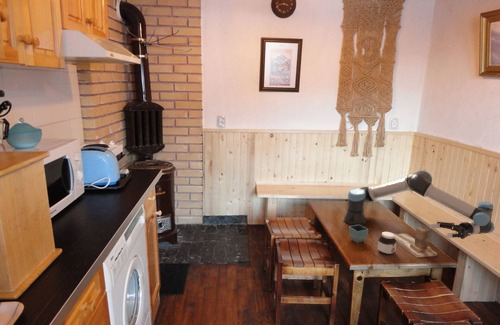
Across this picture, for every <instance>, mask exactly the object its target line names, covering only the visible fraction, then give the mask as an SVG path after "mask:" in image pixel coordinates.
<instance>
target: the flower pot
mask: <svg viewBox="0 0 500 325" xmlns="http://www.w3.org/2000/svg"><path fill="white" fill-rule="evenodd" d="M348 233H349V237H350V239H351V240H352V241H353V242H355V243H356V244H359V243H363V242H364V241H365V240H366V239H367V237H368V233H369V229H368V228H367V227H365V226H363V225H350V226H348Z"/></svg>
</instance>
